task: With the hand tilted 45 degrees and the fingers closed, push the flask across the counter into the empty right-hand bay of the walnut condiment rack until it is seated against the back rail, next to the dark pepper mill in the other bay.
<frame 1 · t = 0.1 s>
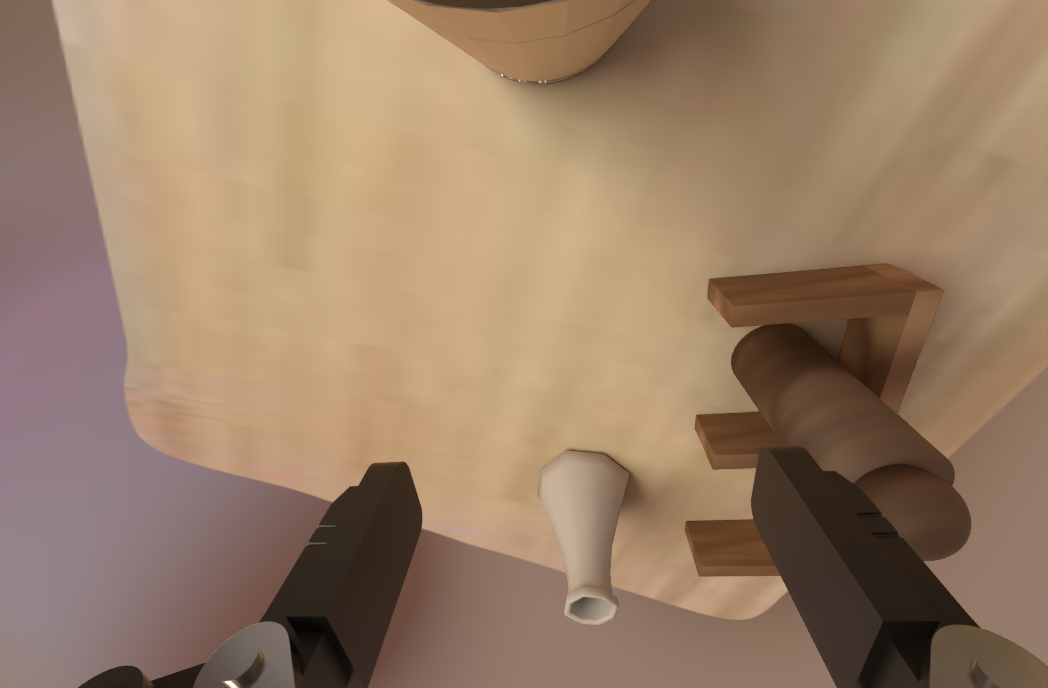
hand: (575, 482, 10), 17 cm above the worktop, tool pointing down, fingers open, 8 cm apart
pepper mill: (770, 356, 27), on the worktop
rack: (760, 425, 30), on the worktop
flask: (581, 479, 34), on the worktop
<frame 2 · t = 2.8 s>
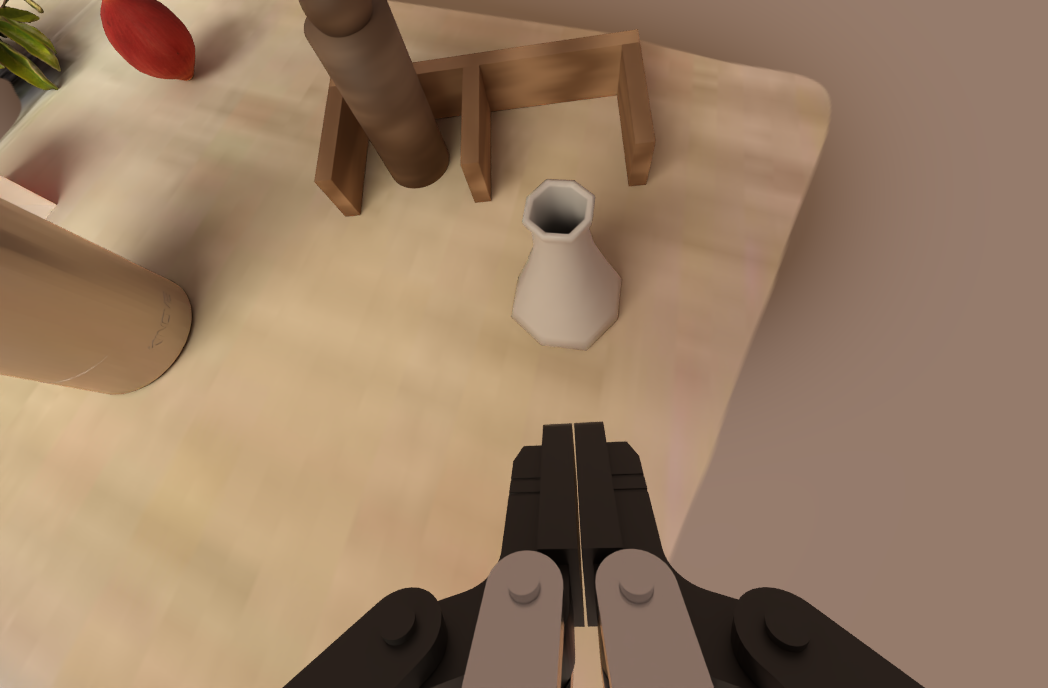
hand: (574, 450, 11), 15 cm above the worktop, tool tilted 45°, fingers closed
pepper mill: (419, 162, 33), on the worktop
rack: (490, 151, 32), on the worktop
onion: (191, 79, 40), on the worktop
puzzle cube: (2, 231, 37), on the worktop
green leafy plant: (26, 77, 43), on the worktop
flask: (566, 300, 28), on the worktop
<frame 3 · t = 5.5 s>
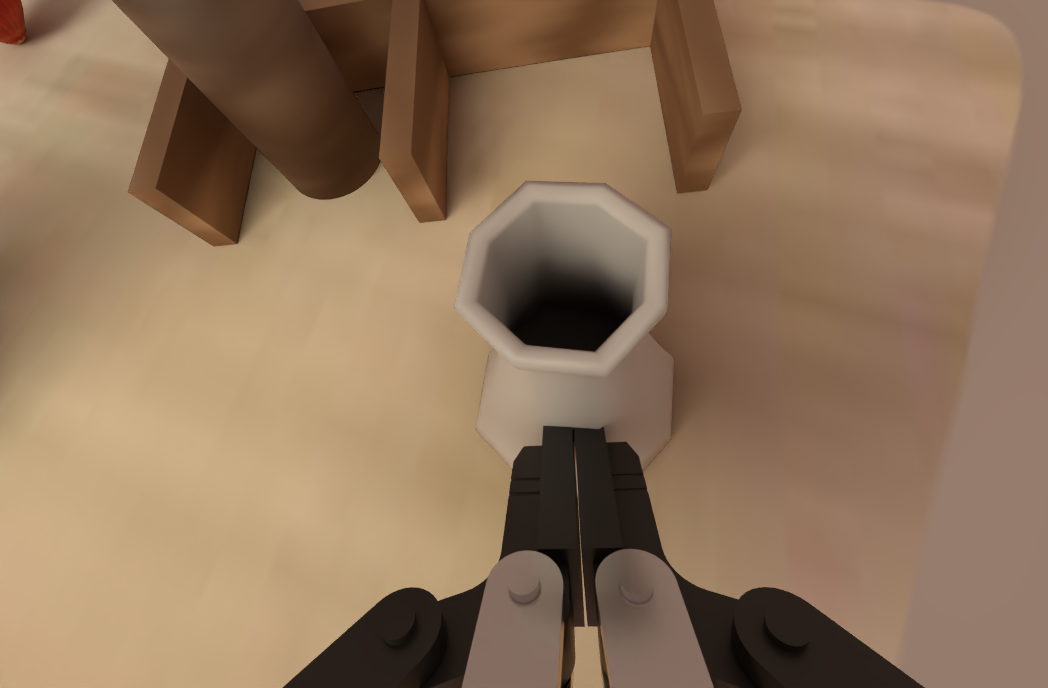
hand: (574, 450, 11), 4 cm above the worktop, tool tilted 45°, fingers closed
pepper mill: (335, 158, 21), on the worktop
rack: (447, 139, 20), on the worktop
onion: (25, 43, 28), on the worktop
flask: (574, 397, 16), on the worktop, touching gripper
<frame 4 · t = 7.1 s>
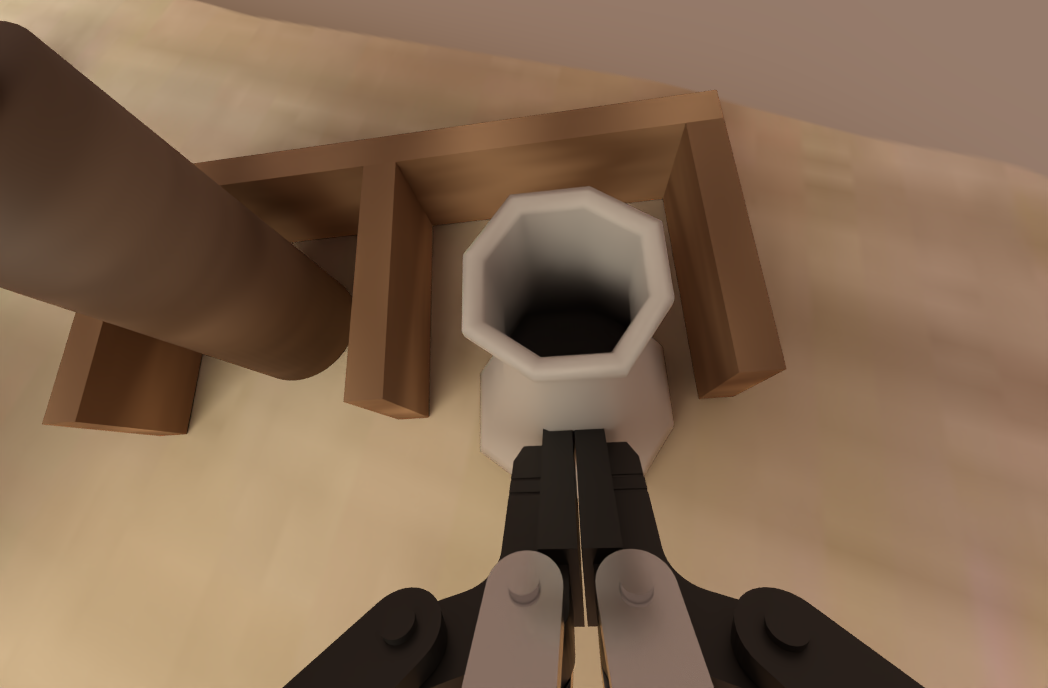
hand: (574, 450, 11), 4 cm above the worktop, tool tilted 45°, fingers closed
pepper mill: (302, 325, 18), on the worktop
rack: (430, 308, 17), on the worktop
flask: (572, 401, 16), on the worktop, touching gripper
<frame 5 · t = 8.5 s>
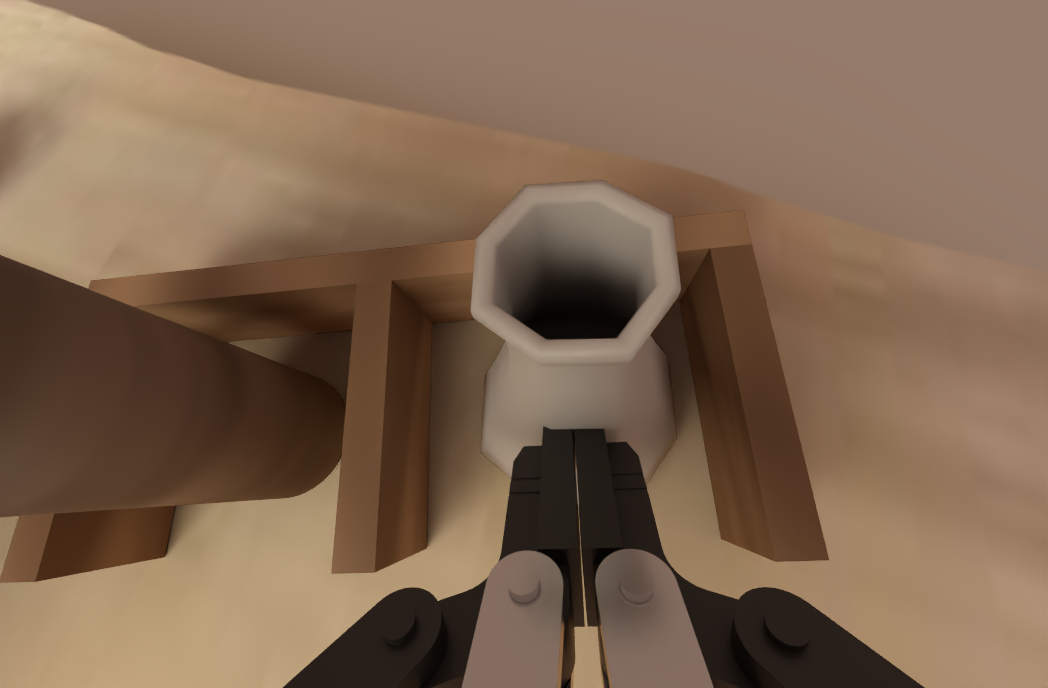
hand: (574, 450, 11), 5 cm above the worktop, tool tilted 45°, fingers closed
pepper mill: (291, 434, 17), on the worktop
rack: (429, 420, 16), on the worktop
flask: (575, 408, 16), on the worktop, touching gripper
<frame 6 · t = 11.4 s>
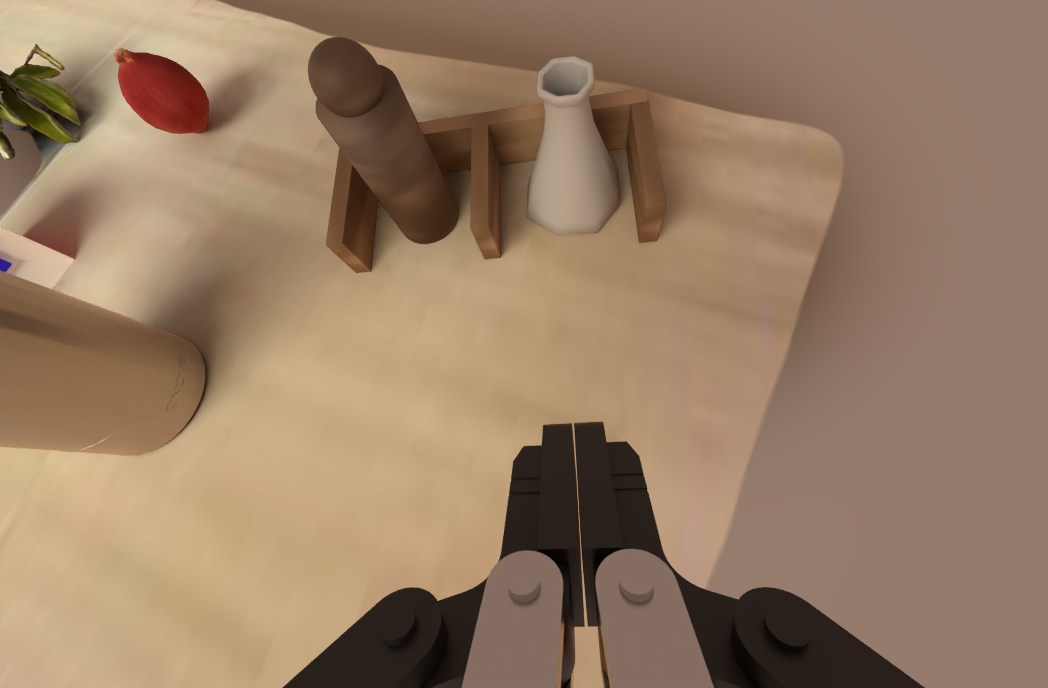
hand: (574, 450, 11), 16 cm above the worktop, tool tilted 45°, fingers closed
pepper mill: (429, 217, 33), on the worktop
rack: (499, 206, 32), on the worktop
onion: (205, 131, 41), on the worktop
puzzle cube: (22, 285, 38), on the worktop
green leafy plant: (47, 129, 45), on the worktop
flask: (572, 198, 32), on the worktop
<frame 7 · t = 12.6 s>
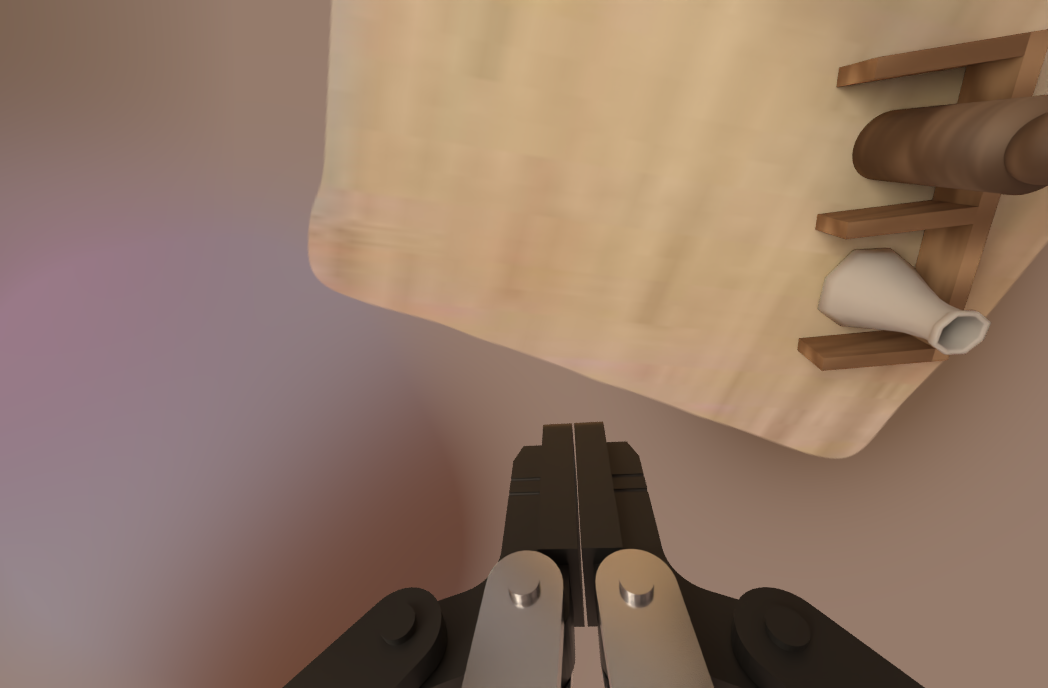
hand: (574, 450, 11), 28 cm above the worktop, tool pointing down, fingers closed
pepper mill: (887, 145, 32), on the worktop
rack: (874, 222, 34), on the worktop
flask: (860, 286, 37), on the worktop
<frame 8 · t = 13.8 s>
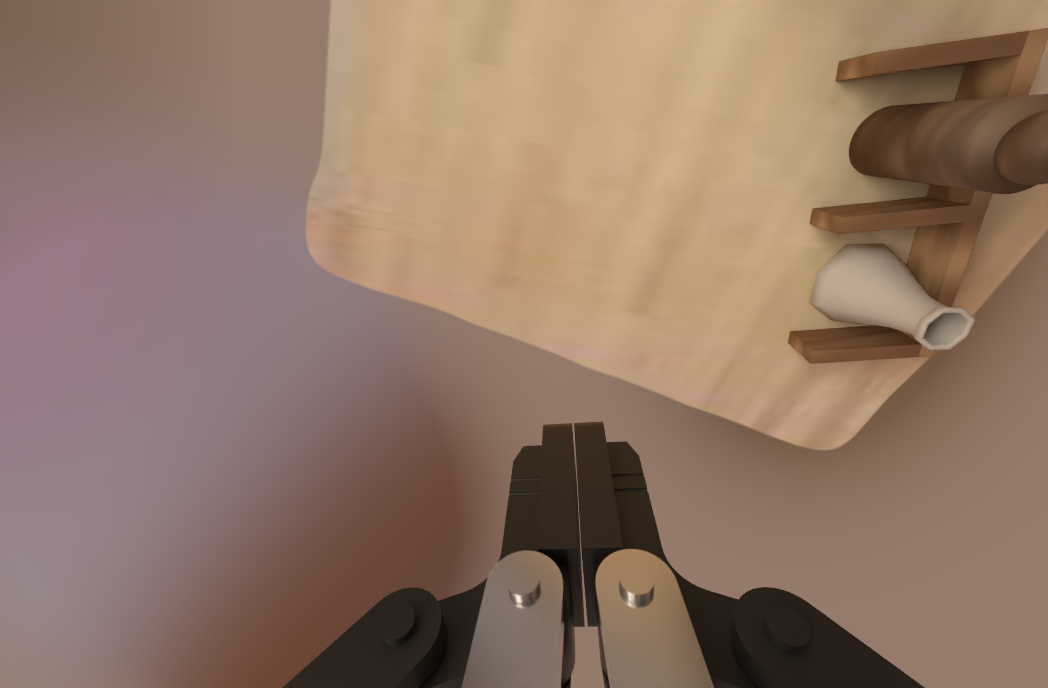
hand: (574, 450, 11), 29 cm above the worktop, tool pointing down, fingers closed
pepper mill: (883, 141, 32), on the worktop
rack: (868, 217, 35), on the worktop
flask: (852, 281, 37), on the worktop
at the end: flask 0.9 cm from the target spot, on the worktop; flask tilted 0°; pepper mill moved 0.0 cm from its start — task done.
